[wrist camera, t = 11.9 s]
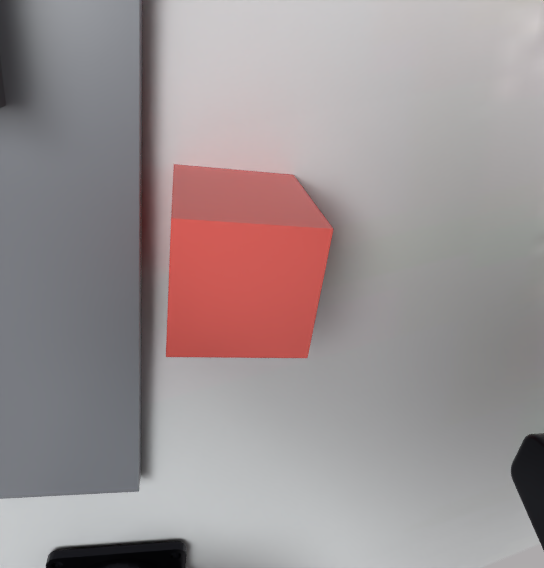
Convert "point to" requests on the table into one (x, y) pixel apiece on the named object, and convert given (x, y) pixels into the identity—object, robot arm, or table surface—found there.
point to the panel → (70, 247)
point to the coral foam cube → (243, 264)
